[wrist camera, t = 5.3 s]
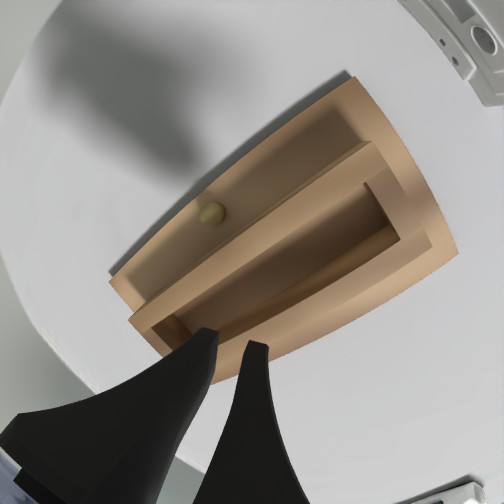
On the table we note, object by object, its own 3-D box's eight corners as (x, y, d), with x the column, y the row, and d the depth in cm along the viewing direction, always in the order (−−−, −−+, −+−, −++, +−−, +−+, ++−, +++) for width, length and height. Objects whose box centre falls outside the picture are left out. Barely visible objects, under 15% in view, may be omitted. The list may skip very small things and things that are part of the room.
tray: (454, 249, 13) (477, 271, 11) (209, 381, 21) (196, 408, 18) (352, 78, 11) (362, 63, 9) (113, 278, 19) (88, 297, 16)
